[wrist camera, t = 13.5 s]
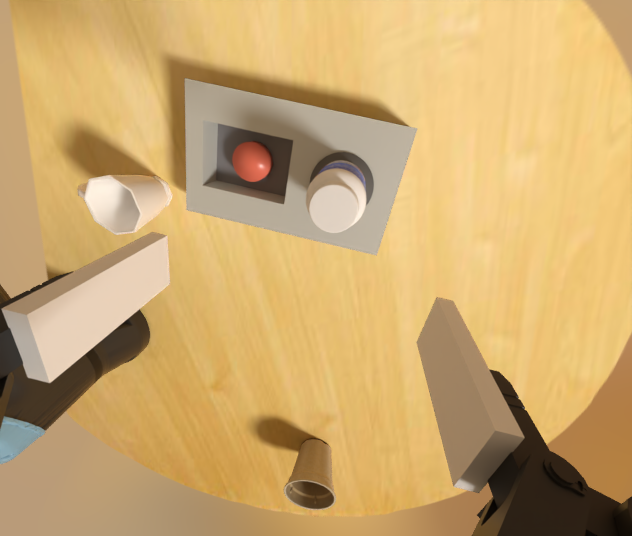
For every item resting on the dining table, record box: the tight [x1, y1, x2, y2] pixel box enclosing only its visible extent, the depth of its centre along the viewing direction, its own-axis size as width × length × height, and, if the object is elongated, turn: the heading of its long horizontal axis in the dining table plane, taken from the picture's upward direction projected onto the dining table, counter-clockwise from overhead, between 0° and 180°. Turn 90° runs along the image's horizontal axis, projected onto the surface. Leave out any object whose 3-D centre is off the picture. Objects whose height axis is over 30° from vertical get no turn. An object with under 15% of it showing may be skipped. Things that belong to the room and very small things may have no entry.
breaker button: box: [232, 141, 273, 182], centre depth 35 cm, size 4×4×2 cm
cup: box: [77, 175, 172, 235], centre depth 36 cm, size 7×10×8 cm
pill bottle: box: [306, 160, 366, 233], centre depth 27 cm, size 5×5×10 cm
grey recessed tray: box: [185, 78, 417, 255], centre depth 34 cm, size 24×14×4 cm, turn 79°
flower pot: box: [284, 439, 336, 510], centre depth 56 cm, size 9×9×9 cm
